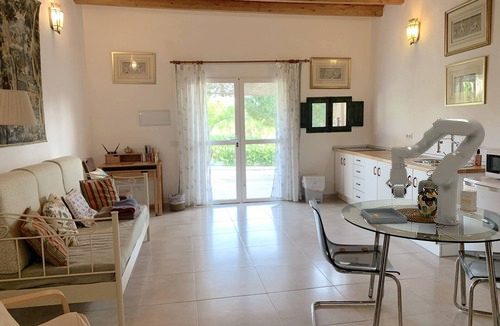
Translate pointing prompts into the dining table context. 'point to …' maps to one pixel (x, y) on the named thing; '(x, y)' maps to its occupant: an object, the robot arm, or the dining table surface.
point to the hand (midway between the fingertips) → (399, 194)
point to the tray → (383, 216)
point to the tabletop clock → (427, 183)
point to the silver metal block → (398, 191)
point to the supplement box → (468, 200)
